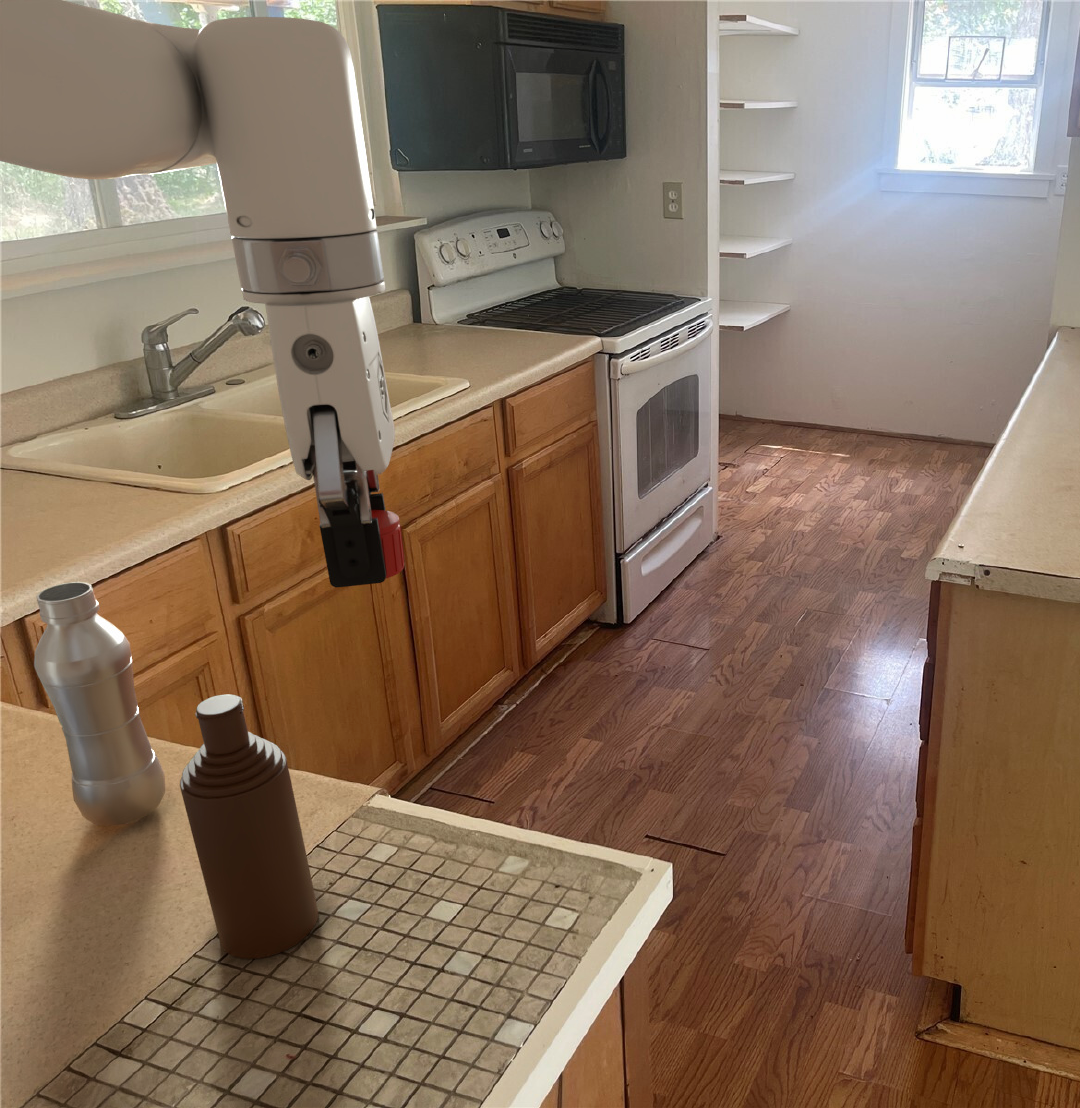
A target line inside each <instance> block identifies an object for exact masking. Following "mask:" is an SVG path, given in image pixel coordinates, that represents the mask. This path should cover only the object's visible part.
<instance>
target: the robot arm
mask: <svg viewBox="0 0 1080 1108" xmlns="http://www.w3.org/2000/svg"><path fill="white" fill-rule="evenodd" d="M354 67H355V66H354V63H353V57H352V52H351V49H350V47H349V44H348V42H347V40H346V38H345V37H344V36H343V34H342V33H341V32H340V31H339V30H338V29H337V28H336V27H334V26H333V25H330V24H328V23H325V22H323V21H319V20H313V19H308V18H299V17H284V16H282V17H281V16H238V17H229V18H222V19H215V20H213V21H211V22H208V23H206V24H205V25H204V26H202V28H192V27H191V28H190V27H180V26H175V25H174V26H173V25H167V24H161V23H154V22H150V21H145V20H140V19H137V18H133V17H130V16H127V15H124V14H119V13H117V12H116V13H115V12H112V11H109V10H104V9H100V8H96V7H91V6H86V5H82V4H78V3H75V2H71V1H67V0H0V162H4V163H7V164H11V165H15V166H19V167H23V168H27V169H31V170H35V171H40V172H44V173H48V174H52V175H58V176H62V177H68V178H74V179H83V180H112V179H120V178H125V177H132V176H147V175H154V174H164V173H168V172H176V171H181V170H186V169H193V168H197V167H203V166H210V165H216V168H217V171H218V178H219V182H220V187H221V193H222V198H223V202H224V208H225V212H226V213H225V214H226V218H227V224H228V228H229V233H230V234H229V235H230V236H231V244H232V247H233V253H234V259H235V264H236V268H237V273H238V279H239V283H240V288H241V292H242V298H243V300H244V301H246V302H249V303H254V304H262V305H264V306H265V312H266V320H267V327H268V332H269V346H270V347H271V353H272V359H273V360H272V361H273V366H274V372H275V378H276V384H277V390H278V396H279V401H280V406H281V412H282V418H283V423H284V428H285V433H286V438H287V443H288V447H289V452H290V455H291V460H292V464H293V467H294V471H295V472H296V474H297V475H298V476H299V477H301V478H302V479H304V480H305V481H311V480H312V478H313V483H314V484H313V485H314V489H315V497H316V503H317V510H318V516H319V530H320V536H321V541H322V547H323V552H324V557H325V564H326V568H327V574H328V579H329V584H330V585H331V586H332V587H333V588H336V589H337V588H346V587H356V586H364V585H374V584H375V585H376V584H382V583H385V581H386V568H385V562H384V556H383V550H382V544H381V537H380V531H379V525H378V519H377V518H372V514H371V510H384V511H387V510H386V505H385V498H384V492H381V493H379V492H380V480H379V475H382V474H383V473H384V472H385V471H386V470H387V468H388V467H389V465H390V461H391V458H392V454H393V450H394V445H395V440H396V439H395V438H396V429H395V428H396V427H395V423H394V417H393V413H392V406H391V401H390V396H389V390H388V384H387V380H386V373H385V368H384V367H385V366H384V362H383V361H384V360H383V356H382V351H381V345H380V339H379V333H378V328H377V324H376V319H375V314H374V311H373V306H372V303H371V299H370V297H372V296H376V295H378V294H382V293H384V292H386V288H387V287H386V282H385V274H384V268H383V261H382V255H381V247H380V240H379V234H378V230H377V228H378V226H377V221H376V220H377V219H376V214H375V207H374V200H373V193H372V187H371V180H370V174H369V167H368V160H367V153H366V151H367V150H366V145H365V138H364V131H363V124H362V118H361V117H362V116H361V110H360V109H361V108H360V103H359V95H358V89H357V82H356V75H355V74H356V73H355V68H354Z"/></svg>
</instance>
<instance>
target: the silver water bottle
mask: <svg viewBox="0 0 1080 1108" xmlns="http://www.w3.org/2000/svg"><path fill="white" fill-rule="evenodd" d="M36 602H37V606H38V608H39V617H40V620H41V621H42V623H44V624H46V627H45V629H44V631H43V633H42V635H41V637H40V639H39V641H38V643H37V646H36V648H35V651H34V659H33V660H34V661H33V667H34V669H35V672H36V675H37V678H38V679H39V681H40V683H41V684H42V687H43V688H44V689H43V690H44V691H45V693H46V695H47V697H48V698H49V700H50V703H51V705H52V706H53V708H54V711H55V714H56V717H57V719H58V722H59V725H60V726H61V730H62V733H63V735H64V738H65V742H66V748H67V754H68V759H69V763H70V769H71V790H72V798H73V801H74V803H75V805H76V807H77V808H78V810H79V812H80V814H81V816H82V818H84V819H86V820H87V821H89V822H90V823H92V824H94V825H96V826H100V827H118V826H123V825H128V824H131V823H134V822H136V821H139V820H141V819H143V818H145V817H147V816H148V815H150V814H152V813H153V812H154V811H155V810H156V809H157V808H158V807H159V805H160V804H161V802H162V800H163V798H164V796H165V793H166V775H165V771H164V768H163V766H162V764H161V761H160V759H159V758H158V756H157V754H156V753H155V751H154V750H153V748H152V745H151V742H150V740H149V737H148V735H147V732H146V729H145V726H144V723H143V721H142V719H141V714H140V710H139V707H138V700H137V694H136V689H135V681H134V668H133V659H132V657H133V655H132V649H131V643H130V641H129V640H128V638H127V637H126V636H125V634H124V633H123V632H122V631H121V630H120V629H119V628H118V627H116V626H115V625H114V624H113V623H112V622H110V621H109V620H107V619H105V618H104V617H102V616H101V615H99V614H98V612H99V611H100V603H99V601H98V600H97V598H96V596H95V591H94V588H93V586H92V584H90V583H88V582H84V581H71V582H64V583H59V584H56V585H52V586H49V587H47V588H45V589H43V590H41V591H40V592H39V593H38V594H37V595H36Z"/></svg>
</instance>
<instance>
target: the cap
mask: <svg viewBox="0 0 1080 1108" xmlns="http://www.w3.org/2000/svg"><path fill="white" fill-rule="evenodd" d="M371 514H372V518H377V519H378V525H379V531H380V537H381V544H382V550H383V556H384V562H385V568H386V579H389V578H393V577H394V576H396V575H398V574H400V573H401V572H402V571H403V570H404V568H405V551H404V545H403V544H404V542H403V534H402V525H401V524H400V517H399V515H398V514H396V513H395V512H393V511H389V510H386V511H384V510H371ZM386 579H385V580H386Z"/></svg>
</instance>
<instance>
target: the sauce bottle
mask: <svg viewBox="0 0 1080 1108" xmlns="http://www.w3.org/2000/svg"><path fill="white" fill-rule="evenodd" d="M244 711H245V706H244V701H243V698H242V697H240V696H239V695H235V694H230V693H229V694H228V693H227V694H219V695H214V696H211V697H209V698H206V699H204V700H202V701H201V702H199V704H198V705H197V706H196V708H195V714H194V715H195V717H196V719H197V720H198V725H199V728H200V733H201V737H202V740H203V741H202V742H203V743H202V744H201V746H200V747H199V749H198V750H197V751H196V752H195V754H194V755H193V756H192V758H191V759H190V760H189V762H188V763H187V764H186V765H185V767H184V768H183V770H182V773H181V777H180V780H179V788H180V793H181V795H182V800H183V804H184V808H185V811H186V815H187V820H188V823H189V828H190V831H191V835H192V839H193V843H194V846H195V850H196V855H197V858H198V862H199V866H200V870H201V873H202V877H203V881H204V885H205V888H206V893H207V896H208V900H209V904H210V908H211V912H212V916H213V920H214V925H215V927H216V931H217V935H218V939H219V943H220V946H221V948H222V949H223V951H224V952H226V953H227V954H228V955H229V956H232V957H235V958H238V959H245V960H256V959H257V960H258V959H264V958H268V957H272V956H275V955H278V954H281V953H283V952H285V951H287V950H289V949H291V948H293V947H294V946H296V945H298V944H299V943H300V942H301V941H302V940H304V939H305V938H306V937H307V936H308V935H309V934H310V933H311V932H312V930H313V929H314V927H315V925H316V924H317V921H318V917H319V908H318V903H317V899H316V894H315V889H314V884H313V879H312V875H311V871H310V865H309V861H308V855H307V850H306V847H305V841H304V836H303V832H302V826H301V822H300V818H299V812H298V808H297V803H296V798H295V793H294V789H293V788H294V787H293V784H292V779H291V775H290V774H291V773H290V770H289V769H290V768H289V764H288V760H287V756H286V754H285V753H284V751H283V750H281V748H280V747H279V746H278V745H277V744H276V743H274V742H271V741H270V740H267V739H265V738H264V737H263V738H262V737H260V736H259V735H256V734H253V733H252V732H251V731H249V730H248V727H247V726H248V725H247V721H246V717H245V713H244Z"/></svg>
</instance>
